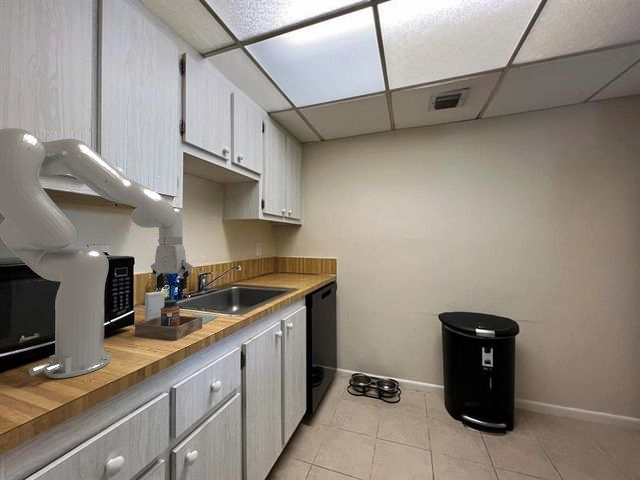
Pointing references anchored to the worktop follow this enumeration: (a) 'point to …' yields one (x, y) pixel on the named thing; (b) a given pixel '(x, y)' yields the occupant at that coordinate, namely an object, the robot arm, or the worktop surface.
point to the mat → (205, 318)
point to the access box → (168, 328)
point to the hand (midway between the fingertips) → (171, 288)
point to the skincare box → (153, 304)
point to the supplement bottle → (170, 314)
